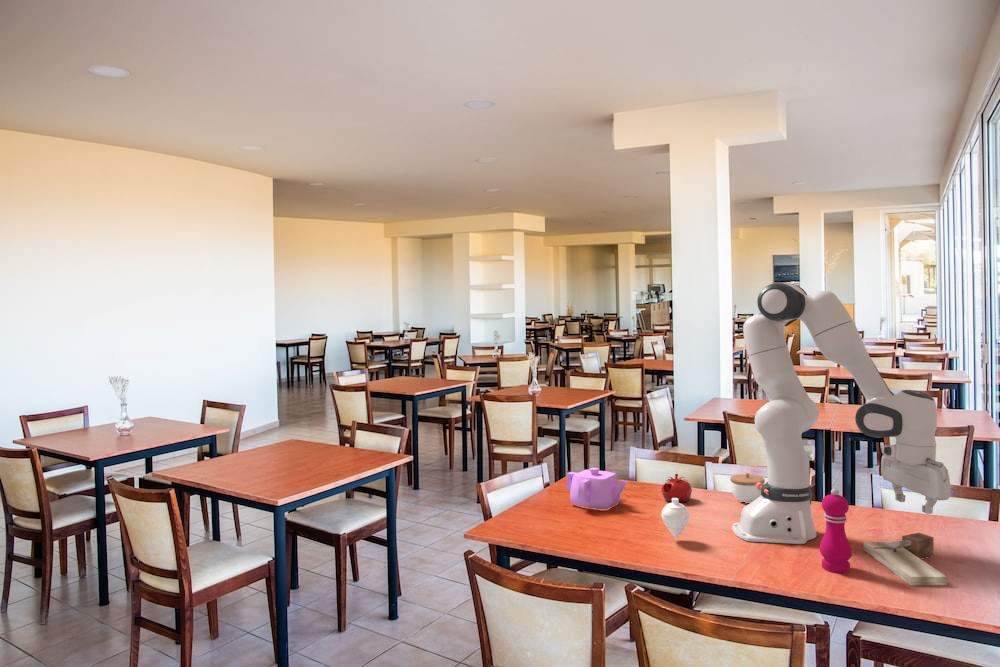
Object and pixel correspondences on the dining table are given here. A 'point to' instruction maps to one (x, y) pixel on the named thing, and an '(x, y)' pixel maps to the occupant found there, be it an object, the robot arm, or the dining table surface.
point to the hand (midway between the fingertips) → (913, 506)
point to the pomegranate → (676, 489)
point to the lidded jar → (746, 486)
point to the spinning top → (675, 517)
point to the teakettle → (594, 488)
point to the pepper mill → (835, 534)
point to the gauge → (916, 545)
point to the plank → (905, 564)
